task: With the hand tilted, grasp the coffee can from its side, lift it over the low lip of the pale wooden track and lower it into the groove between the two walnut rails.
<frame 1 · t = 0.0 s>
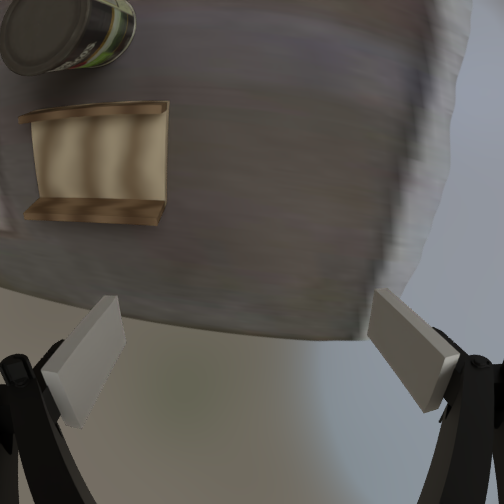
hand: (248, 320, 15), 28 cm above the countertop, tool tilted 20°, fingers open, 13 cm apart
track: (97, 153, 36), on the countertop
coffee can: (99, 30, 27), on the countertop
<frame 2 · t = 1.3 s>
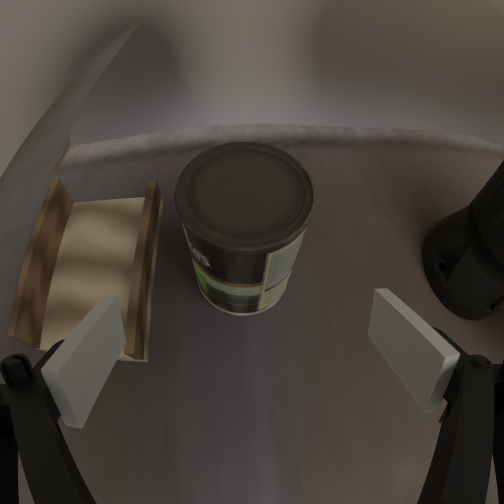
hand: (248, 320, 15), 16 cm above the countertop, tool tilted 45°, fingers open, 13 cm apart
track: (99, 274, 33), on the countertop
coffee can: (243, 273, 34), on the countertop
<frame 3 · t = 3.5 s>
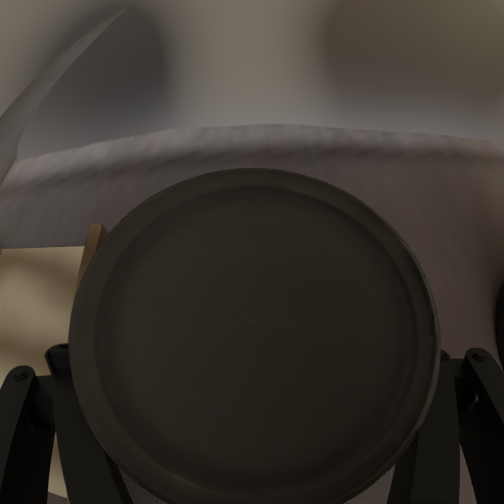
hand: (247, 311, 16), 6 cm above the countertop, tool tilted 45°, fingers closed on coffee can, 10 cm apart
track: (34, 365, 19), on the countertop
coffee can: (247, 381, 20), on the countertop, touching gripper
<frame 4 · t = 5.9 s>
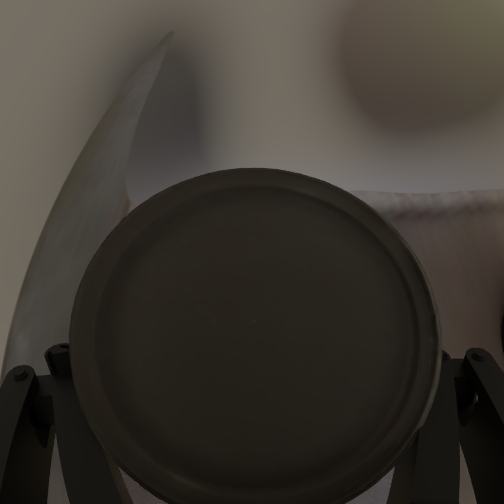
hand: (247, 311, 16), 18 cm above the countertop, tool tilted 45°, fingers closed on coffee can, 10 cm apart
coffee can: (248, 381, 20), point 12 cm above the countertop, touching gripper
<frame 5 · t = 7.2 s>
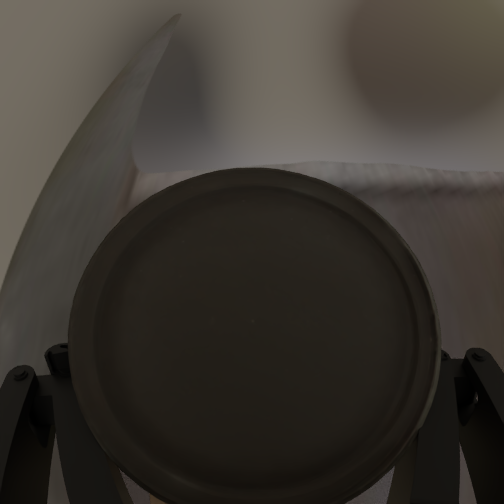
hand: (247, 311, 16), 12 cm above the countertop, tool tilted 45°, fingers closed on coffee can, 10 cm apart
coffee can: (247, 381, 20), point 5 cm above the countertop, touching gripper
when the fingers open (9 cm above the countertop, at t = 8.2 s): coffee can drops 1 cm, resting on track.
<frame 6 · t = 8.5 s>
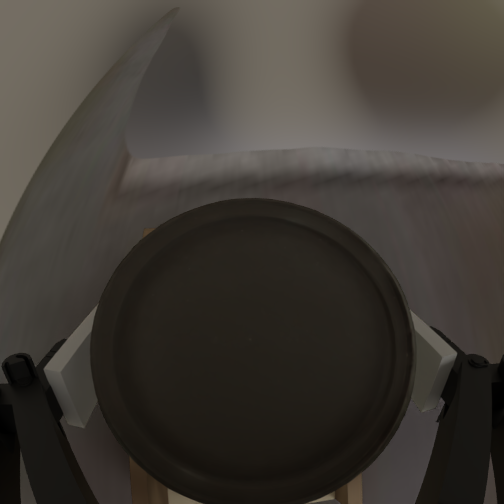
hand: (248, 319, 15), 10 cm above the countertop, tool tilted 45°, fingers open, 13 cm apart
track: (246, 384, 22), on the countertop
coffee can: (247, 384, 21), point 1 cm above the countertop, touching track
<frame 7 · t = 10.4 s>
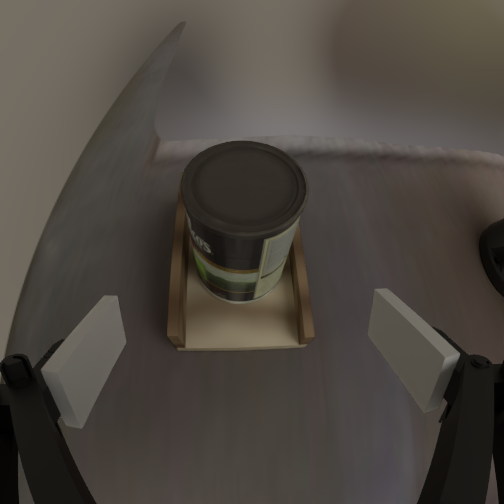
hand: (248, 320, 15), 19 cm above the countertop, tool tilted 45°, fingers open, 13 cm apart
track: (238, 269, 38), on the countertop
coffee can: (240, 264, 36), point 1 cm above the countertop, touching track
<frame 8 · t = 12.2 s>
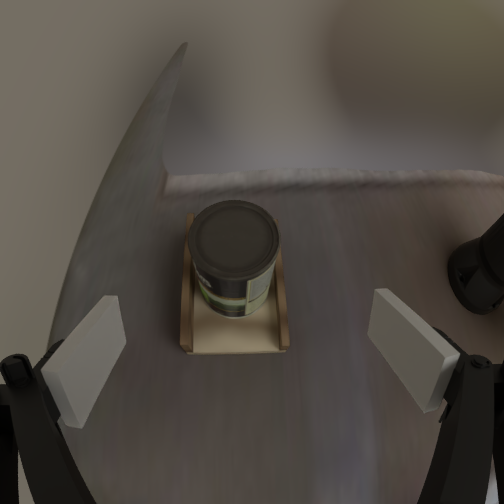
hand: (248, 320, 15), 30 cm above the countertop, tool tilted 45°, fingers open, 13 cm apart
track: (234, 290, 47), on the countertop
coffee can: (235, 287, 46), point 1 cm above the countertop, touching track
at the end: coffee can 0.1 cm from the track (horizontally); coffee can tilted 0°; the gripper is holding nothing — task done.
